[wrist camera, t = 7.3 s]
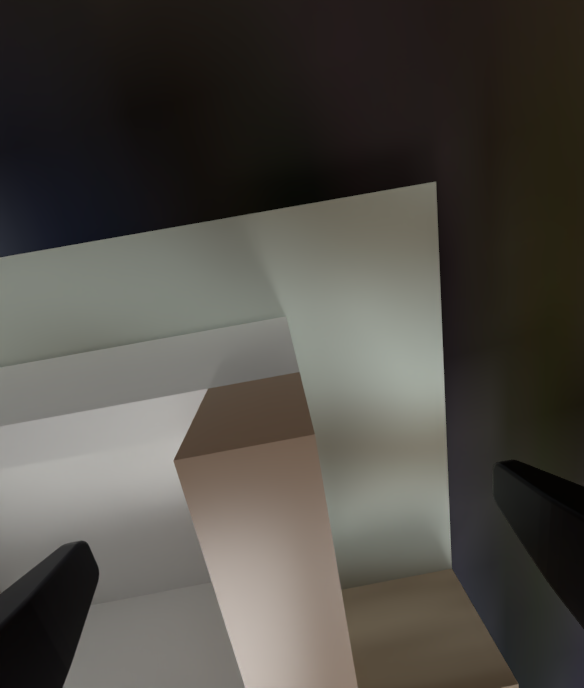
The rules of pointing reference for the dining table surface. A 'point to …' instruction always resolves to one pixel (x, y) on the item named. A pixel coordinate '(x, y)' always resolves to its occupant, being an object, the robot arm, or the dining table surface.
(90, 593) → the robot arm
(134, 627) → the drawer
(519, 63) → the dining table surface
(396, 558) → the beige shallow tray
